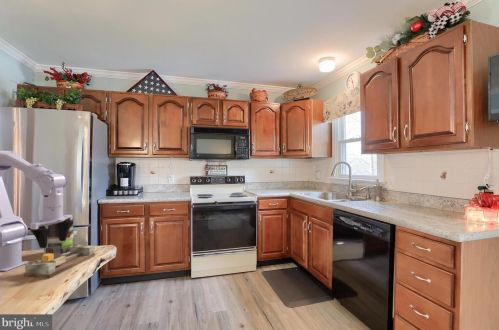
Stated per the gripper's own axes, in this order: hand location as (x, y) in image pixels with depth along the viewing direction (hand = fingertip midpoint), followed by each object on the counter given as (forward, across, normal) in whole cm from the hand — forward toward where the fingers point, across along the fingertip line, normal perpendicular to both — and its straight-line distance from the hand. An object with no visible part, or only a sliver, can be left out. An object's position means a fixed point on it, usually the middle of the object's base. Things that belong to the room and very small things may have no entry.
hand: (53, 244), depth 88 cm
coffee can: (+10, +15, +13) cm, 22 cm away
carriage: (+7, 0, 0) cm, 7 cm away
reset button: (+4, -5, -3) cm, 7 cm away
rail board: (+9, +4, 0) cm, 10 cm away
